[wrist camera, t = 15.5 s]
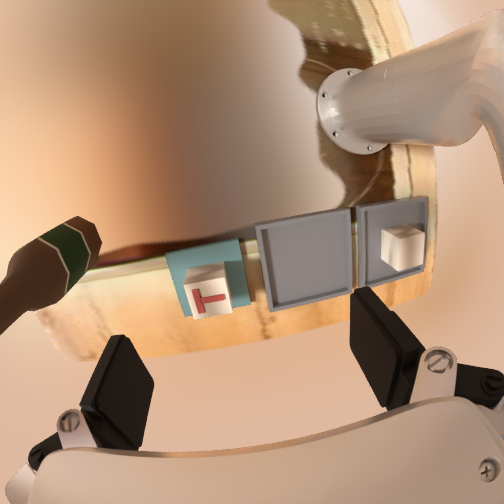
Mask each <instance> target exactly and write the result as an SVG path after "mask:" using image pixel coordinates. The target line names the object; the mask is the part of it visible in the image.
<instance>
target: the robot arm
mask: <svg viewBox="0 0 504 504" xmlns="http://www.w3.org/2000/svg"><path fill="white" fill-rule="evenodd" d="M348 74H349V75H348ZM322 94H323V95H324V97H323V96H322ZM316 111H317V117H318V119H319V122H320V125H321V127H322V128H323V130H324V132H325V133H326V135H327V136H328V137H329V138H330V140H331V141H333V142H334V143H335V144H336V145H337V146H339V147H340V148H342V149H343V150H346V151H348V152H351V153H355V154H372V153H375V152H378V151H380V150H381V149H383V148H384V147H385V146H386V145H387V144H415V145H431V146H458V145H461V144H463V143H465V142H467V141H468V140H470V139H471V138H472V137H473V136H474V135H475V134H476V133H477V131H478V130H479V129H480V127H481V126H482V124H483V125H484V126H485V127H486V129H487V131H488V134H489V136H490V139H491V142H492V145H493V148H494V150H495V152H496V155H497V159H498V162H499V166H500V170H501V174H502V179H503V183H504V9H500V10H496V11H493V12H490V13H488V14H485V15H483V16H482V17H479V18H478V19H476V20H474V21H472V22H470V23H469V24H467V25H465V26H463V27H461V28H459V29H458V30H456V31H454V32H452V33H450V34H448V35H445V36H444V37H442V38H439V39H437V40H434V41H432V42H429V43H427V44H425V45H422V46H420V47H417V48H415V49H412V50H409V51H407V52H404V53H402V54H400V55H397V56H395V57H392V58H390V59H388V60H385V61H383V62H381V63H378V64H376V65H374V66H372V67H370V68H367V69H365V70H359V69H353V68H347V69H341V70H338V71H336V72H334V73H332V74H331V75H329V76H328V77H327V78H326V79H325V80H324V81H323V82H322V84H321V85H320V88H319V90H318V92H317V97H316ZM333 133H334V136H333ZM367 147H368V149H367ZM350 348H351V350H352V352H353V354H354V356H355V358H356V359H357V361H358V363H359V365H360V367H361V369H362V371H363V373H364V374H365V377H366V378H367V380H368V382H369V384H370V386H371V388H372V390H373V392H374V394H375V395H376V397H377V400H378V402H379V403H380V405H381V407H386V409H387V412H384V413H381V414H379V415H376V416H373V417H370V418H367V419H364V420H361V421H359V422H355V423H352V424H349V425H346V426H342V427H339V428H336V429H332V430H329V431H325V432H321V433H318V434H314V435H309V436H305V437H301V438H297V439H292V440H287V441H282V442H277V443H271V444H265V445H258V446H252V447H244V448H235V449H226V450H214V451H198V452H149V451H138V449H139V447H141V445H142V442H143V436H144V431H145V426H146V421H147V416H148V411H149V407H150V402H151V398H152V393H153V389H154V381H153V378H152V377H151V375H150V374H149V372H148V370H147V368H146V367H145V365H144V363H143V362H142V360H141V358H140V357H139V355H138V353H137V351H136V349H135V348H134V346H133V344H132V342H131V340H130V339H129V338H128V337H126V336H125V335H123V334H122V335H114V336H111V337H110V339H109V341H108V343H107V345H106V347H105V349H104V351H103V353H102V355H101V357H100V359H99V361H98V364H97V366H96V368H95V370H94V372H93V374H92V377H91V379H90V381H89V383H88V386H87V388H86V390H85V393H84V395H83V397H82V400H81V402H80V404H79V405H80V406H81V407H82V408H81V411H79V410H77V409H69V410H67V411H65V412H64V413H62V415H61V416H60V417H59V419H58V421H57V431H58V432H56V433H55V434H53V435H52V436H50V437H49V438H47V439H45V440H44V441H43V442H41V443H39V444H37V445H36V446H34V447H33V448H32V450H31V451H30V453H29V456H28V461H29V464H27V463H25V464H24V465H23V466H22V467H21V469H20V470H19V471H18V472H17V473H16V474H15V475H14V476H13V477H12V478H11V480H10V481H9V482H8V483H7V485H6V488H5V494H6V496H7V498H8V500H9V502H10V503H11V504H504V375H503V373H501V372H500V371H498V370H494V369H488V368H482V367H476V366H470V365H464V364H459V363H457V358H456V356H455V354H454V353H453V352H452V351H451V350H449V349H447V348H444V347H432V348H429V349H427V350H426V349H425V348H424V346H423V345H422V344H421V343H420V341H419V340H418V339H417V338H416V337H415V335H414V334H413V333H412V332H411V331H410V329H409V328H408V327H407V326H406V325H405V323H404V322H403V321H402V320H401V319H400V318H399V317H398V315H397V314H396V313H395V312H394V311H390V310H389V309H388V308H387V307H386V305H385V304H384V303H383V302H382V301H381V300H380V298H379V297H378V296H377V295H376V294H375V293H374V292H373V291H372V289H371V288H370V287H369V286H365V287H361V288H357V289H355V290H354V293H352V294H351V295H350Z"/></svg>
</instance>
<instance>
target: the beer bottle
mask: <svg viewBox="0 0 504 504" xmlns="http://www.w3.org/2000/svg"><path fill="white" fill-rule="evenodd" d="M101 244H102V241H101V239H100V237H99V234H98V232H97V229H96V227H95V225H94V224H93V223H91V222H89V221H87V220H85V219H83V218H81V217H79V216H77V217H74V218H72V219H70V220H68V221H66V222H64V223H62V224H60V225H59V226H57V227H55V228H54V229H51V230H50V231H48V232H46V233H44V234H43V235H41V236H39V237H38V238H36V239H34V240H33V241H31V242H30V243H28V244H26V245H25V246H23V247H22V248H20V249H19V250H18V251H17V252H15V253H14V255H13V256H12V258H11V260H10V262H9V265H8V270H7V275H6V277H5V278H4V280H3V281H2V282H1V284H0V335H1V334H2V333H3V332H4V331H5V330H6V329H7V328H8V327H9V326H10V325H11V324H12V323H13V322H15V321H16V320H17V319H18V318H19V317H20V316H21V315H22V314H23V313H25V312H26V311H36V310H39V309H41V308H44V307H47V306H50V305H52V304H55V303H57V302H58V301H59V300H60V299H62V298H63V297H64V296H65V295H66V294H67V292H68V291H69V290H70V289H71V288H72V287H73V286H74V285H75V284H76V283H77V282H78V280H79V279H80V278H81V277H82V276H83V275H84V274H85V273H86V272H87V271H88V270H89V269H90V268H91V267H92V266H93V265H94V263H95V262H96V261H97V258H98V255H99V251H100V248H101Z"/></svg>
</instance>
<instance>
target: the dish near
mask: <svg viewBox="0 0 504 504" xmlns="http://www.w3.org/2000/svg"><path fill="white" fill-rule="evenodd" d="M254 226H255V232H256V238H257V244H258V249H259V255H260V261H261V267H262V273H263V279H264V285H265V291H266V297H267V303H268V308H269V311H270V312H274V311H279V310H284V309H288V308H292V307H297V306H301V305H305V304H309V303H313V302H318V301H322V300H326V299H329V298H333V297H337V296H341V295H345V294H349V293H352V235H351V216H350V209H349V208H347V207H343V208H337V209H331V210H325V211H319V212H314V213H308V214H302V215H297V216H291V217H286V218H280V219H275V220H269V221H264V222H259V223H254Z"/></svg>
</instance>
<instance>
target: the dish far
mask: <svg viewBox="0 0 504 504" xmlns="http://www.w3.org/2000/svg"><path fill="white" fill-rule="evenodd" d="M356 214H357V236H358V287H359V288H361V287H365V286H369V287H370V288H371V287H375V286H378V285H382V284H385V283H389V282H392V281H395V280H398V279H402V278H405V277H408V276H411V275H414V274H417V273H420V272H424V264H425V253H426V239H427V214H428V197H425V196H417V197H410V198H403V199H396V200H390V201H383V202H377V203H370V204H364V205H358V206H356ZM403 224H407V225H409V226H412V227H414V228H416V229H418V230H420V231H422V232H424V233H425V241H424V255H423V264H421V265H418V266H415V267H412V268H408V269H405V270H402V271H397V270H395V269H394V268H393V267H391V266H390V265H389V264H387V263H386V262H385V261H383V260H382V259H381V229H383V228H388V227H393V226H398V225H403Z"/></svg>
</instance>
